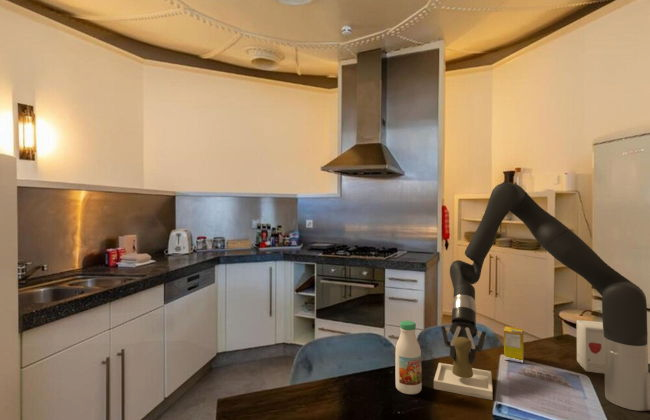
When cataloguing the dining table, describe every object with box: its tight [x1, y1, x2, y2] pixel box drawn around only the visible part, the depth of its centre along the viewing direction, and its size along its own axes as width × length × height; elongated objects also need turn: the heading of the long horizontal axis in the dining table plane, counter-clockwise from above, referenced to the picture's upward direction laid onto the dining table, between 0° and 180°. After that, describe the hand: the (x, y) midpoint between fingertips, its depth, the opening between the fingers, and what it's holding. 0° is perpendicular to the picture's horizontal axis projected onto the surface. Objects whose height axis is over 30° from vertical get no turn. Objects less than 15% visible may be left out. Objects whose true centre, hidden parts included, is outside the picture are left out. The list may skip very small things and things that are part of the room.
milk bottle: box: [394, 320, 423, 395], centre depth 104 cm, size 8×8×20 cm
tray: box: [433, 362, 493, 401], centre depth 106 cm, size 16×14×2 cm
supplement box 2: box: [576, 319, 605, 375], centre depth 116 cm, size 9×9×15 cm
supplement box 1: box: [503, 326, 525, 361], centre depth 124 cm, size 6×6×11 cm
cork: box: [452, 337, 473, 378], centre depth 107 cm, size 6×6×11 cm
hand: (462, 361), depth 105 cm, fingers closed on cork, 4 cm apart
